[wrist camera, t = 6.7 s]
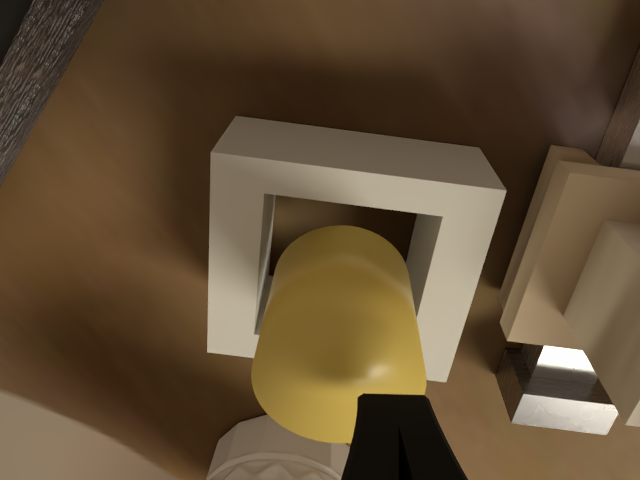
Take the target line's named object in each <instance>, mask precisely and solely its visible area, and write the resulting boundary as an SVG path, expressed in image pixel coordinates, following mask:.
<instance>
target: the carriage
mask: <svg viewBox="0 0 640 480" xmlns="http://www.w3.org/2000/svg"><path fill="white" fill-rule="evenodd" d="M498 300H499V303H500V305H501V307H502V310H503V314H502V317H501V320H500V324H501V327H502V329H503V332H504V335H505V337H506V340H507V341H511V342H519V343H527V344H535V345H543V346H551V347H559V348H566V349H574V350H582V351H583V352H584V354H585V356H586V357H587V359H588V361H589V362H590V364H591V366H592V368H593V369H594V371H595V373H596V375H597V376H598V378H599V380H600V382H601V383H602V385H603V387H604V389H605V390H606V392H607V394H608V396H609V397H610V399H611V401H612V403H613V404H614V406H615V408H616V410H617V411H618V413H619V415H620V417H621V418H622V420H623V422H624V424H625V425H630V426H638V427H640V171H637V170H629V169H622V168H614V167H606V166H601V165H600V164H599V163H597V162H596V161H595V160H594V159H593V158H592V157H591V156H589V155H588V154H587V153H586V152H585V151H584V150H583V149H579V148H572V147H564V146H556V145H550V148H549V151H548V154H547V157H546V160H545V163H544V166H543V169H542V172H541V174H540V177H539V180H538V183H537V186H536V189H535V192H534V195H533V198H532V201H531V203H530V206H529V209H528V212H527V215H526V218H525V221H524V224H523V227H522V230H521V232H520V235H519V238H518V241H517V244H516V247H515V250H514V253H513V256H512V259H511V261H510V264H509V267H508V270H507V273H506V276H505V279H504V282H503V285H502V288H501V290H500V293H499V296H498Z"/></svg>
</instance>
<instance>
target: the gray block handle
mask: <svg viewBox="0 0 640 480" xmlns="http://www.w3.org/2000/svg"><path fill="white" fill-rule="evenodd" d="M595 161H596V162H597V163H599V164H600V165H601V166H606V167H614V168H622V169H629V170H637V171H640V47H639V50H638V52H637V55H636V57H635V60H634V63H633V65H632V68H631V70H630V73H629V75H628V78H627V80H626V83H625V85H624V88H623V90H622V93H621V96H620V98H619V101H618V103H617V106H616V108H615V111H614V113H613V116H612V118H611V121H610V124H609V126H608V129H607V131H606V134H605V136H604V139H603V141H602V144H601V146H600V149H599V151H598V154H597V157H596V159H595ZM495 376H496V379H497V382H498V385H499V388H500V391H501V394H502V397H503V400H504V403H505V406H506V409H507V412H508V415H509V418H510V421H511V423H515V424H523V425H531V426H538V427H546V428H554V429H562V430H570V431H578V432H586V433H594V434H602V435H607V433H608V431H609V429H610V427H611V426H612V424H613V422H614V420H615V418H616V417H617V415H618V411H617V410H616V408H615V406H614V404H613V403H612V401H611V399H610V397H609V396H608V394H607V392H606V390H605V389H604V387H603V385H602V383H601V382H600V380H599V378H598V376H597V375H596V373H595V371H594V369H593V368H592V366H591V364H590V362H589V361H588V359H587V357H586V356H585V354H584V352H583V351H582V350H574V349H566V348H559V347H551V346H543V345H535V344H527V343H523V345H522V347H521V350H518V349H510V348H505V351H504V354H503V356H502V359H501V362H500V364H499V367H498V370H497V372H496V375H495Z"/></svg>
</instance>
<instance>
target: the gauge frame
mask: <svg viewBox="0 0 640 480" xmlns="http://www.w3.org/2000/svg"><path fill="white" fill-rule="evenodd" d="M506 192H507V190H506V189H505V187H504V185H503V184H502V182H501V181H500V179H499V178H498V176H497V175H496V173H495V171H494V170H493V168H492V167H491V165H490V164H489V162H488V160H487V159H486V157H485V156H484V154H483V153H482V151H481V149H480V148H478V147H471V146H463V145H455V144H448V143H440V142H433V141H425V140H417V139H410V138H402V137H394V136H387V135H379V134H372V133H364V132H356V131H349V130H341V129H333V128H326V127H318V126H310V125H303V124H295V123H288V122H280V121H272V120H265V119H257V118H249V117H242V116H235V118H234V119H233V121H232V122H231V123H230V125H229V126H228V128H227V129H226V131H225V132H224V134H223V135H222V136H221V138H220V139H219V141H218V142H217V144H216V145H215V147H214V148H213V149H212V151H211V162H210V220H209V279H208V337H207V352H209V353H217V354H225V355H233V356H241V357H249V358H254V356H255V352H256V347H257V343H258V339H259V335H260V331H261V326H262V322H263V318H264V314H265V310H266V306H267V301H268V297H269V293H270V289H271V285H272V280H273V276H269V267H270V255H271V243H272V231H273V219H274V208H275V196H276V195H280V196H288V197H296V198H304V199H311V200H319V201H327V202H334V203H342V204H350V205H358V206H365V207H373V208H381V209H388V210H396V211H404V212H412V213H417V217H416V221H415V225H414V230H413V234H412V238H411V243H410V247H409V251H408V255H407V260H406V266H407V269H408V273H409V278H410V284H411V290H412V296H413V301H414V307H415V313H416V318H417V324H418V330H419V336H420V341H421V347H422V353H423V359H424V364H425V370H426V377H427V378H426V380H431V381H439V382H446V381H447V378H448V375H449V372H450V369H451V365H452V362H453V359H454V356H455V353H456V350H457V346H458V343H459V340H460V337H461V334H462V331H463V327H464V324H465V321H466V318H467V315H468V312H469V309H470V305H471V302H472V299H473V296H474V293H475V290H476V286H477V283H478V280H479V277H480V274H481V271H482V267H483V264H484V261H485V258H486V255H487V252H488V248H489V245H490V242H491V239H492V236H493V233H494V230H495V226H496V223H497V220H498V217H499V214H500V211H501V207H502V204H503V201H504V198H505V195H506Z"/></svg>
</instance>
